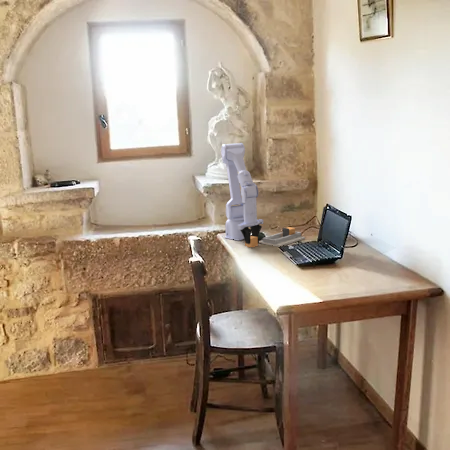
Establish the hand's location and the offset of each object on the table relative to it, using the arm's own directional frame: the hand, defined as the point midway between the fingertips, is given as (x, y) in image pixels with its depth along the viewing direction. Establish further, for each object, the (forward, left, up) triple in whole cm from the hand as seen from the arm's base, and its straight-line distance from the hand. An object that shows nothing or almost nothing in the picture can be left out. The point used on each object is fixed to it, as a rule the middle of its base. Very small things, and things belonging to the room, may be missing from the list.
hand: (251, 242), depth 264 cm
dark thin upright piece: (+19, +28, -2) cm, 34 cm away
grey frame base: (+5, +15, -2) cm, 16 cm away
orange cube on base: (0, 0, -2) cm, 2 cm away
